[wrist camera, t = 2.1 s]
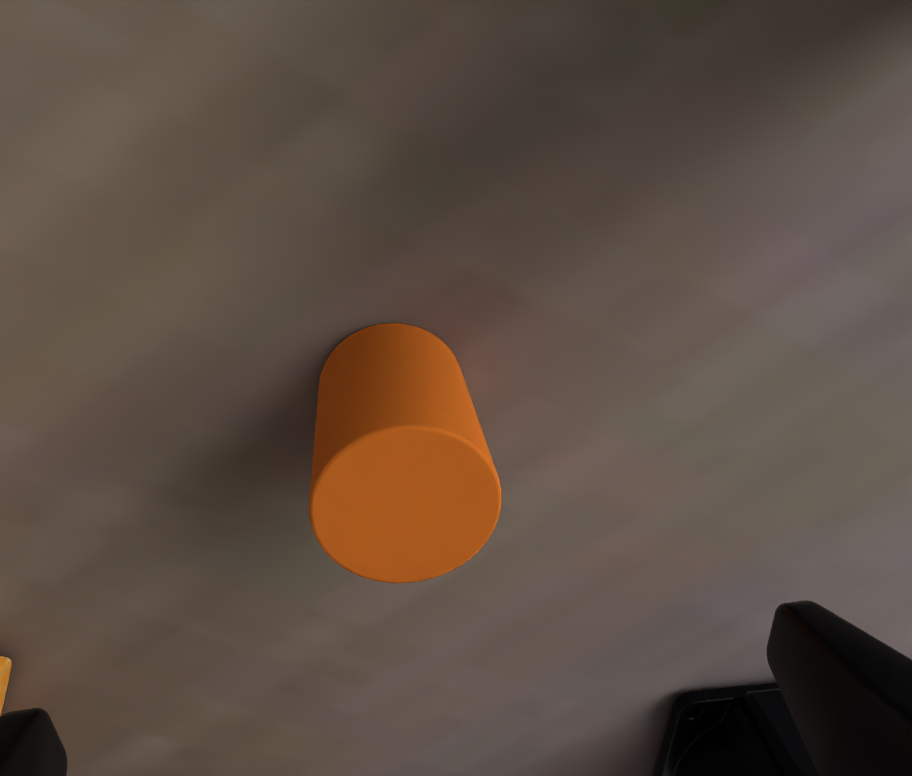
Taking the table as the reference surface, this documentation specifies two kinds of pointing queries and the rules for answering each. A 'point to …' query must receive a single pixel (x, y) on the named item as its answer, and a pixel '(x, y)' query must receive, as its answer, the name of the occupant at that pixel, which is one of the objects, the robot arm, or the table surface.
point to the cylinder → (399, 458)
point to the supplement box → (4, 678)
